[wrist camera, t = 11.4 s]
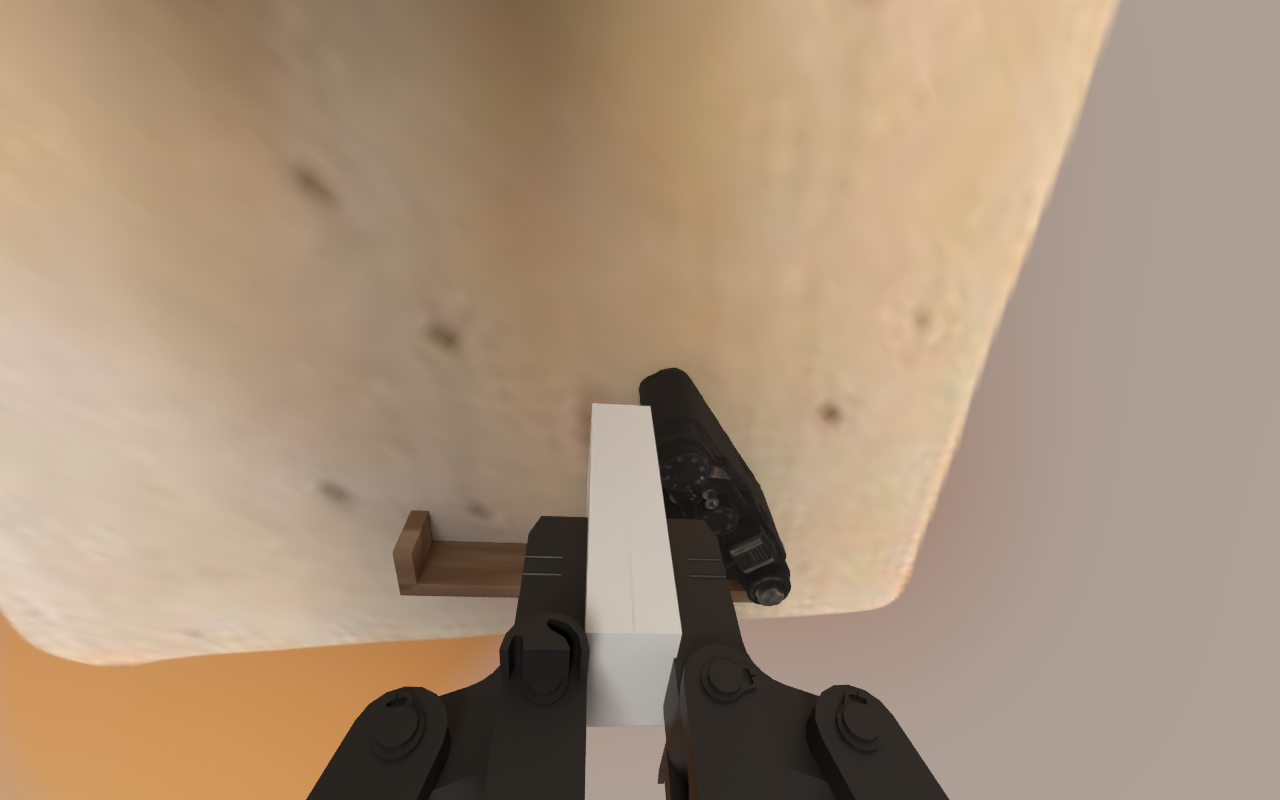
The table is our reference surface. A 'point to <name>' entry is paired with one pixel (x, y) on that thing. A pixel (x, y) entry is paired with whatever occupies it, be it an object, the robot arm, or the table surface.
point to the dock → (466, 565)
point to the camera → (714, 486)
